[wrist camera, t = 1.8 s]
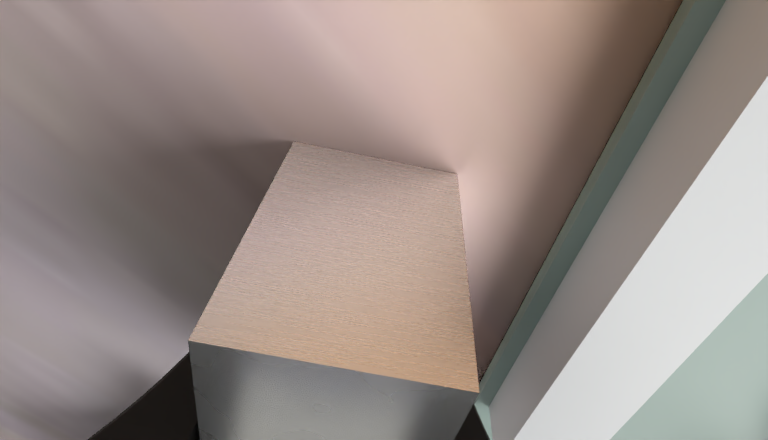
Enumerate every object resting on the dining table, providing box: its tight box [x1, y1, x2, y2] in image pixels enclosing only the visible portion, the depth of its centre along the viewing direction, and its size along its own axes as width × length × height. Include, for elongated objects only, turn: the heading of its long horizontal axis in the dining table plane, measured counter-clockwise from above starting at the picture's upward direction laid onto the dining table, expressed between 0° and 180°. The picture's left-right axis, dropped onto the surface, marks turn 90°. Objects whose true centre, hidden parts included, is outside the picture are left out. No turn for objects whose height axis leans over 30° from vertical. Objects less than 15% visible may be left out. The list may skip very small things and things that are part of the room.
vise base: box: [474, 0, 768, 440], centre depth 13 cm, size 21×15×2 cm
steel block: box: [188, 141, 479, 440], centre depth 11 cm, size 9×4×6 cm, turn 170°
